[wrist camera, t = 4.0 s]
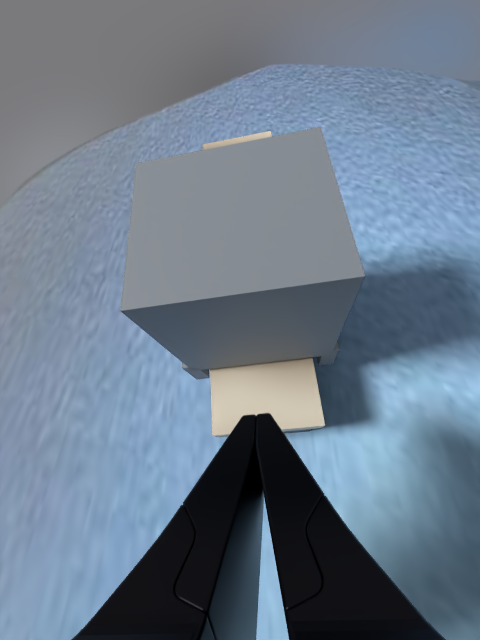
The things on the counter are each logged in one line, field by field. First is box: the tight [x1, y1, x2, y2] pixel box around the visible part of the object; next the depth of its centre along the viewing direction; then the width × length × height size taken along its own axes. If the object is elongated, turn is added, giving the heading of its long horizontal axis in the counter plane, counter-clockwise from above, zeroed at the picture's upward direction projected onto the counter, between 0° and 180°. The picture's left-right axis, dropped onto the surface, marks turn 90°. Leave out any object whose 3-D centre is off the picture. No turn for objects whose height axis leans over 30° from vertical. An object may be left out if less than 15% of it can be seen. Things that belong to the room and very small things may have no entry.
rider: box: [120, 127, 365, 379], centre depth 13 cm, size 6×7×8 cm
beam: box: [203, 131, 325, 437], centre depth 18 cm, size 20×5×3 cm, turn 5°
